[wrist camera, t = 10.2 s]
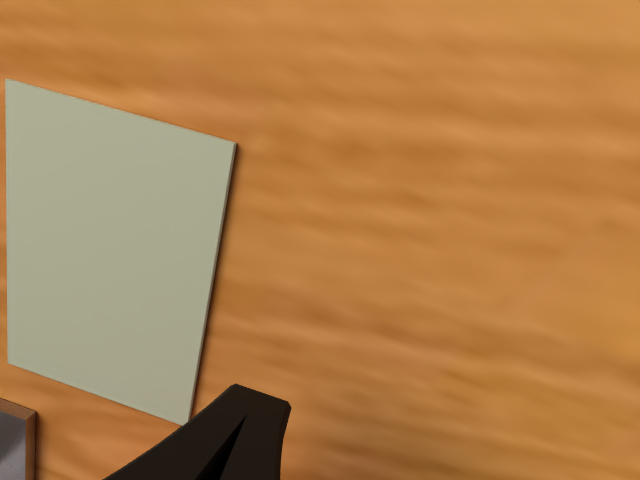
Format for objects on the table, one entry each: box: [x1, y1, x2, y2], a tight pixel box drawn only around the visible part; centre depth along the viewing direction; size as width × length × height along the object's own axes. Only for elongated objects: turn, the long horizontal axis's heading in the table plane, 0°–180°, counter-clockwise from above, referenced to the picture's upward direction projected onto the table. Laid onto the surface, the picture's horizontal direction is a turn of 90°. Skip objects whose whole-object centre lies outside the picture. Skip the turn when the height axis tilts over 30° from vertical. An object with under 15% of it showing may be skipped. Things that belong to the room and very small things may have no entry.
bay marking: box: [5, 79, 237, 426], centre depth 15 cm, size 10×7×1 cm
